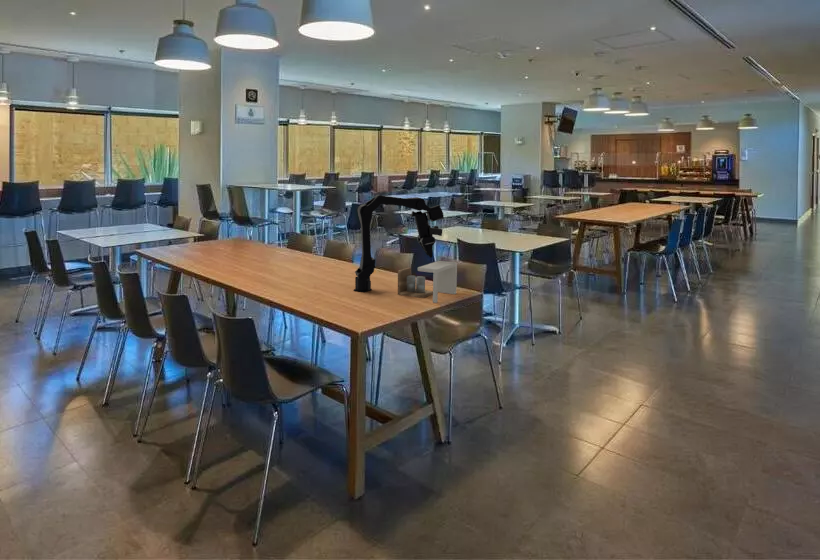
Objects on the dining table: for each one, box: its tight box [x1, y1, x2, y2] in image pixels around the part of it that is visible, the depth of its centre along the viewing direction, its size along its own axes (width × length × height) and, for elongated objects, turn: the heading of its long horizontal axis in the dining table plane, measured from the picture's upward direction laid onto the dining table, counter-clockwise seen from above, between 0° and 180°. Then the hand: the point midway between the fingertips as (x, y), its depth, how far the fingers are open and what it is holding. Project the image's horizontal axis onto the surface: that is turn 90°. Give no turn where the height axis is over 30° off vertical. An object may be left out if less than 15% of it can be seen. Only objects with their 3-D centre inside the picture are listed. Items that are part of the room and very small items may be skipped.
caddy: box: [397, 267, 433, 299], centre depth 272 cm, size 13×10×11 cm
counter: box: [417, 260, 458, 304], centre depth 267 cm, size 9×21×14 cm, turn 152°
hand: (429, 256), depth 284 cm, fingers open, 9 cm apart
